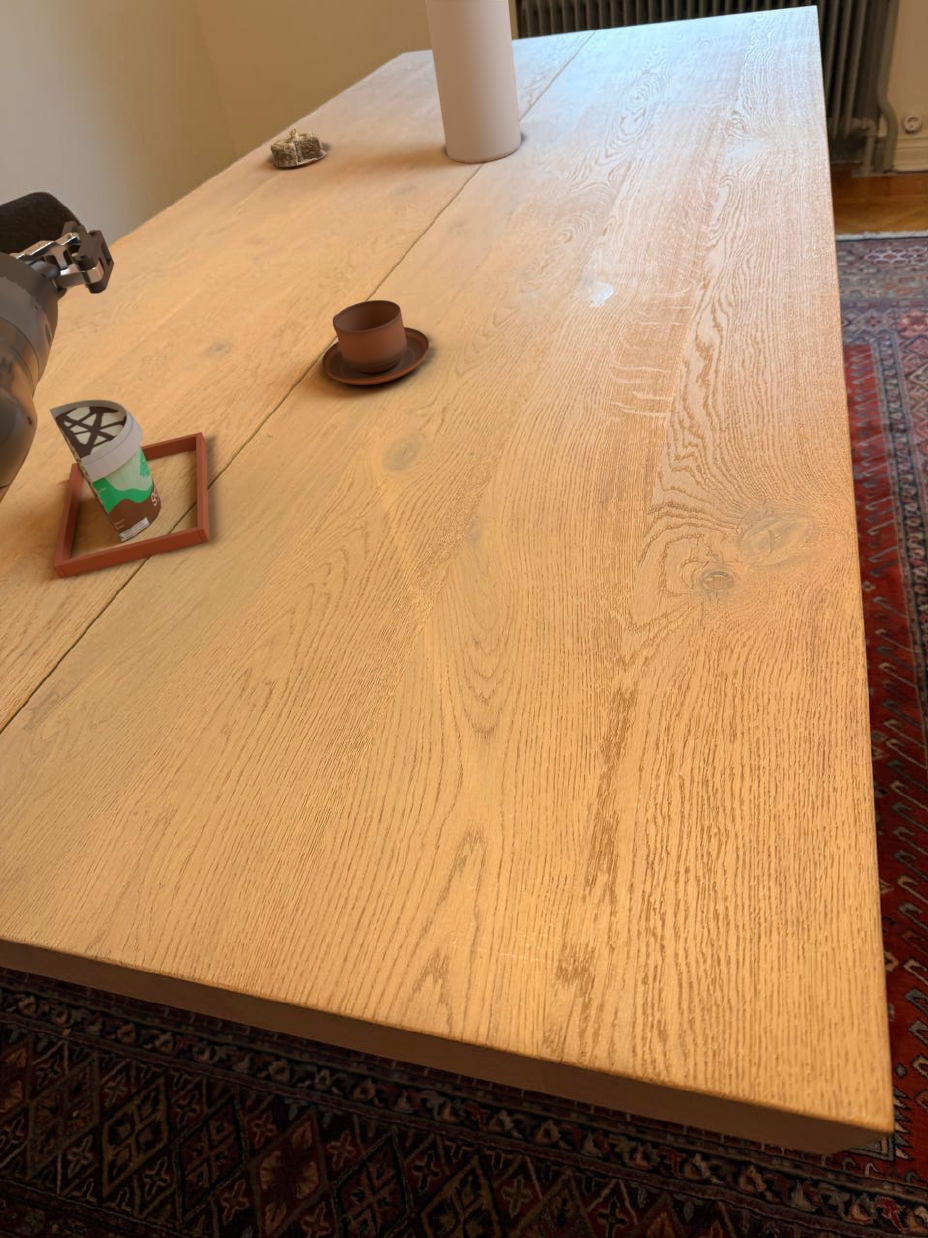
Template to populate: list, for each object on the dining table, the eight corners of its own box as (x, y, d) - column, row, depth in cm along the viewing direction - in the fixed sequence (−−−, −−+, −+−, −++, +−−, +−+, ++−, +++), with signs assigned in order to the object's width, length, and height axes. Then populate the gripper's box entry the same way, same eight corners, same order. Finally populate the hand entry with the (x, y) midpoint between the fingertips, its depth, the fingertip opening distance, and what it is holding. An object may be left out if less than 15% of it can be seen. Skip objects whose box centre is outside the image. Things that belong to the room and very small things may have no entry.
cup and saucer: (307, 391, 100) (292, 339, 95) (355, 339, 107) (343, 289, 103) (405, 398, 95) (393, 344, 91) (448, 344, 103) (439, 291, 99)
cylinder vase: (485, 135, 159) (465, -38, 142) (537, 143, 151) (522, -38, 134) (432, 158, 154) (405, -19, 137) (483, 168, 146) (460, -18, 129)
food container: (193, 526, 83) (152, 432, 76) (130, 555, 81) (82, 461, 74) (152, 471, 91) (112, 381, 84) (94, 496, 89) (47, 407, 82)
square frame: (65, 588, 80) (53, 566, 78) (82, 484, 92) (71, 463, 91) (213, 550, 81) (203, 528, 79) (209, 452, 93) (201, 431, 91)
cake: (263, 171, 164) (252, 139, 161) (299, 153, 170) (290, 122, 167) (301, 169, 159) (291, 136, 156) (338, 151, 164) (329, 118, 161)
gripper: (71, 248, 57) (91, 175, 69) (-158, 301, 56) (-97, 217, 68) (119, 358, 62) (130, 272, 74) (-90, 408, 61) (-45, 312, 73)
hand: (21, 246), depth 71 cm, fingers open, 8 cm apart
